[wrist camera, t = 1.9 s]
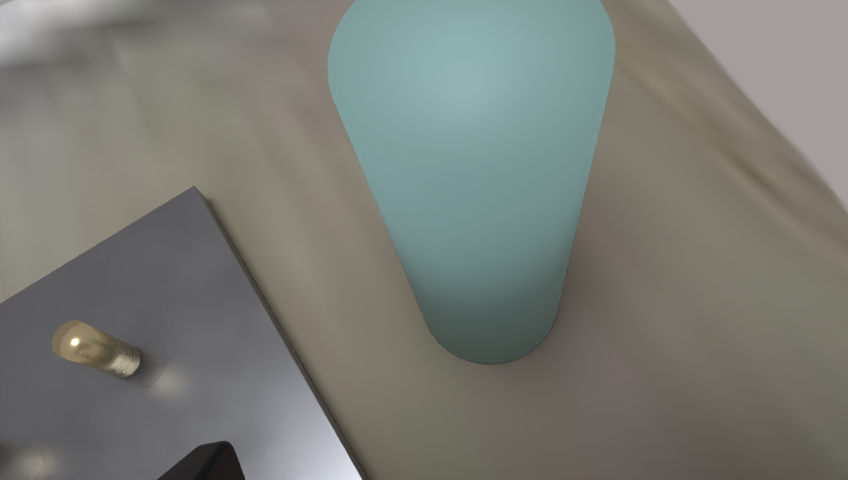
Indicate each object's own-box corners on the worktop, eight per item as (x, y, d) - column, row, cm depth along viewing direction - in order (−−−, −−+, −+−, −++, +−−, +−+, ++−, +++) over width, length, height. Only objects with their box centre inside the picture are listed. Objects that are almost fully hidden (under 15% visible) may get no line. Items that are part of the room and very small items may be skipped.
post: (587, 311, 22) (681, 63, 10) (473, 392, 21) (428, 229, 9) (502, 212, 24) (496, -91, 12) (396, 283, 23) (279, 36, 11)
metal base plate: (412, 555, 19) (388, 563, 15) (-66, 912, 17) (-232, 1026, 13) (207, 199, 26) (155, 144, 22) (-155, 422, 23) (-283, 403, 20)
